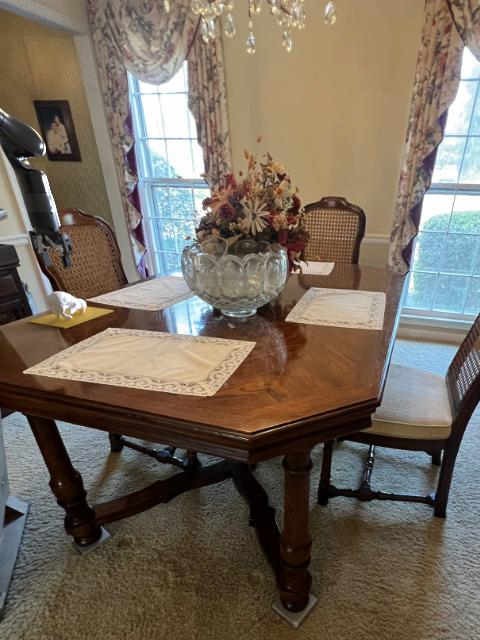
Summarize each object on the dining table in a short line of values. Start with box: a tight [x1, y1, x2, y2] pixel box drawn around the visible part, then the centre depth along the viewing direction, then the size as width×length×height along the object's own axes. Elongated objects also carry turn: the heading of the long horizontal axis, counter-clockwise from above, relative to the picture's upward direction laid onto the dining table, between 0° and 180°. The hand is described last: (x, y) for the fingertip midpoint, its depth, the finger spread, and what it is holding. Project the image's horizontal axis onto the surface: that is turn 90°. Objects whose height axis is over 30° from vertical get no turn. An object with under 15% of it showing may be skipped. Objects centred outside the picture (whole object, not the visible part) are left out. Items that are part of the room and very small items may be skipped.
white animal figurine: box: [46, 290, 87, 319], centre depth 125 cm, size 6×8×12 cm
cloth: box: [27, 305, 115, 329], centre depth 127 cm, size 20×16×1 cm
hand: (58, 267), depth 119 cm, fingers open, 8 cm apart
